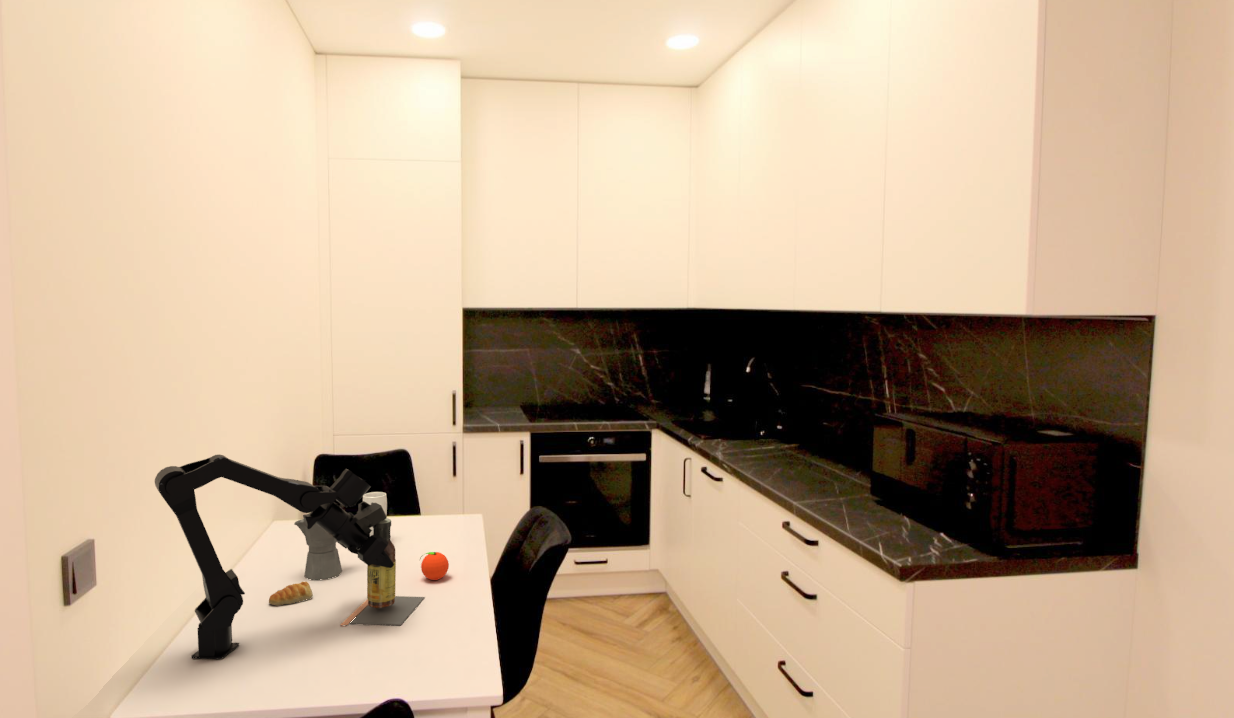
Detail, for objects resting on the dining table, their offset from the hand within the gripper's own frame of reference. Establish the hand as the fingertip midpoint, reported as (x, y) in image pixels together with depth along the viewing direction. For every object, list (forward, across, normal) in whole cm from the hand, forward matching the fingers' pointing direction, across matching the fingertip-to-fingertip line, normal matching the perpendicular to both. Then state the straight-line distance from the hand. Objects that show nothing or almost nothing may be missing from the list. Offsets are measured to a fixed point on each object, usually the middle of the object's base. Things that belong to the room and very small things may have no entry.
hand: (387, 562), depth 176 cm
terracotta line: (+6, +7, +10) cm, 13 cm away
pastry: (-3, +20, +19) cm, 28 cm away
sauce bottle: (+6, 0, +8) cm, 10 cm away
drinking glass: (+19, +50, -3) cm, 53 cm away
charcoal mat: (+8, -1, +8) cm, 11 cm away
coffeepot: (+6, +33, +10) cm, 35 cm away
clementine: (+20, +12, -4) cm, 23 cm away
